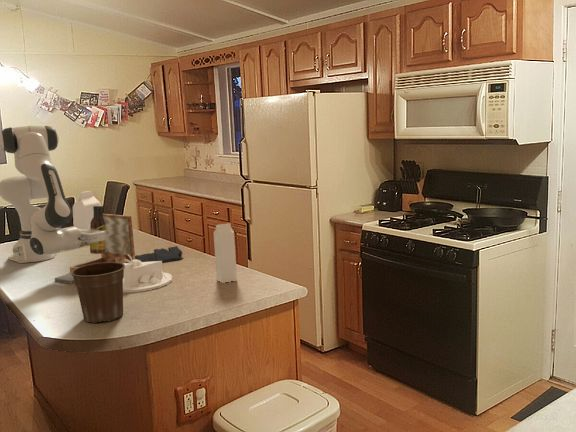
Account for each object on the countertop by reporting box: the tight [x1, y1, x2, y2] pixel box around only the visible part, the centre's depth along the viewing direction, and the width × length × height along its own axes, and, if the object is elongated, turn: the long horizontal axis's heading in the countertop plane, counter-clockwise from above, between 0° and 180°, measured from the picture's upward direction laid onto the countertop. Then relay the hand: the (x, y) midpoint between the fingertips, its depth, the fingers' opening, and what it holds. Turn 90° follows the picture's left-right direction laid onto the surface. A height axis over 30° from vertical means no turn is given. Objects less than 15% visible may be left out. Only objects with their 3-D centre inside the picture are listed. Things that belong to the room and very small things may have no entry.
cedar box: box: [69, 213, 136, 274], centre depth 237 cm, size 20×18×22 cm
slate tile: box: [54, 272, 75, 285], centre depth 226 cm, size 10×10×1 cm
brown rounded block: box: [115, 256, 126, 264], centre depth 239 cm, size 4×4×5 cm
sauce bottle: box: [89, 205, 106, 255], centre depth 235 cm, size 6×6×20 cm
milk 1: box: [72, 190, 103, 229], centre depth 299 cm, size 12×12×26 cm
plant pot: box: [71, 262, 125, 324], centre depth 179 cm, size 16×16×16 cm
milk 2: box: [213, 222, 238, 284], centre depth 213 cm, size 6×6×22 cm
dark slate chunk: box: [134, 245, 184, 264], centre depth 252 cm, size 15×22×5 cm
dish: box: [123, 254, 173, 294], centre depth 217 cm, size 25×25×11 cm
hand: (99, 231), depth 236 cm, fingers closed on sauce bottle, 6 cm apart
